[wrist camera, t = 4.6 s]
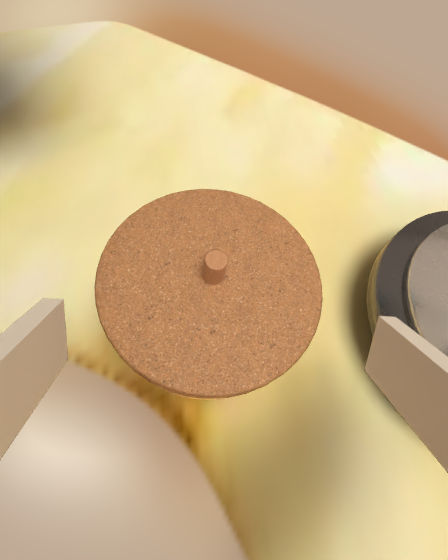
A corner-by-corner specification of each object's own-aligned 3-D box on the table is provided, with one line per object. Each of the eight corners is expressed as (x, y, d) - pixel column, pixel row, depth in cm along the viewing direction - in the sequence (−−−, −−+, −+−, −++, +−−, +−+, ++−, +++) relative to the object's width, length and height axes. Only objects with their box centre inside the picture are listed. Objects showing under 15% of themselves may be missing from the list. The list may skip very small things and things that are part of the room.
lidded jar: (99, 391, 20) (36, 358, 11) (148, 244, 24) (130, 144, 16) (271, 426, 20) (336, 418, 12) (286, 273, 25) (340, 190, 16)
